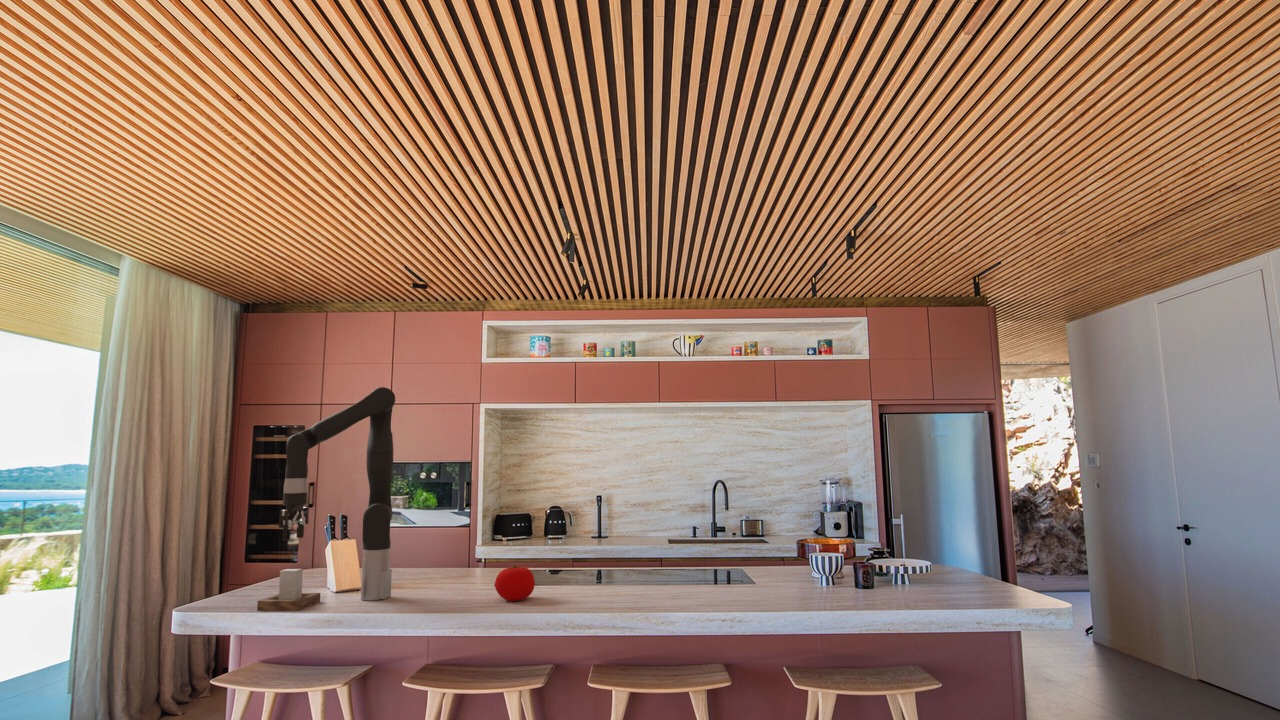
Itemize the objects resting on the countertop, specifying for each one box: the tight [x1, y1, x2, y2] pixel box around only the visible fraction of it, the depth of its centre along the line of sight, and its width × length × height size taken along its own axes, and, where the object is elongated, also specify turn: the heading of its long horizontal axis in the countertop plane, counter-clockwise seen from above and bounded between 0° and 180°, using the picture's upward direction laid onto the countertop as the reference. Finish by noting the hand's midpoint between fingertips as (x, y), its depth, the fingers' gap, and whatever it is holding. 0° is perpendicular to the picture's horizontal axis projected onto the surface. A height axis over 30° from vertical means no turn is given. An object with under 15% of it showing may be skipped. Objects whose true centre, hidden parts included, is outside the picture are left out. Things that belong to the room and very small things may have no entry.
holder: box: [256, 592, 321, 612], centre depth 239 cm, size 14×14×3 cm
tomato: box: [494, 564, 536, 602], centre depth 246 cm, size 13×14×12 cm
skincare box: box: [278, 568, 304, 600], centre depth 240 cm, size 6×4×12 cm
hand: (293, 539), depth 242 cm, fingers open, 8 cm apart
